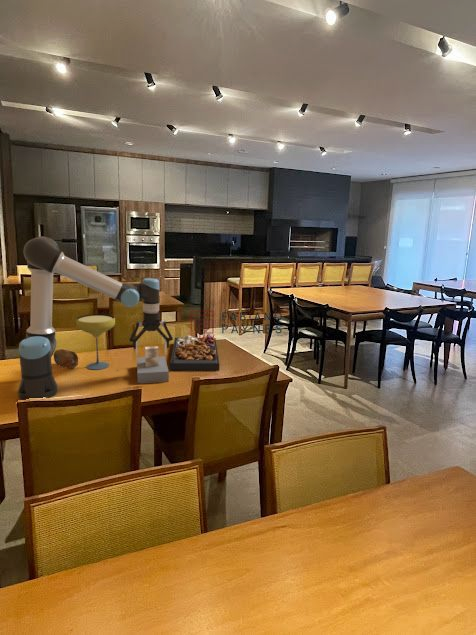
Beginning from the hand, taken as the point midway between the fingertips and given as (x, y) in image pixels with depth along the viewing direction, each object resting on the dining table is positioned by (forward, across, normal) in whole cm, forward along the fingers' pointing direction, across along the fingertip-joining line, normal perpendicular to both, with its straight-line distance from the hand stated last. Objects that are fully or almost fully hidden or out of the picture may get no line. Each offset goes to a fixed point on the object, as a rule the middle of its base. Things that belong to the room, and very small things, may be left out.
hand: (151, 354), depth 200 cm
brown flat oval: (+10, -41, +17) cm, 45 cm away
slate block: (+10, 0, 0) cm, 10 cm away
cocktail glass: (+10, -26, +15) cm, 31 cm away
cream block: (+5, 0, 0) cm, 5 cm away
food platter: (+10, +25, +23) cm, 36 cm away
